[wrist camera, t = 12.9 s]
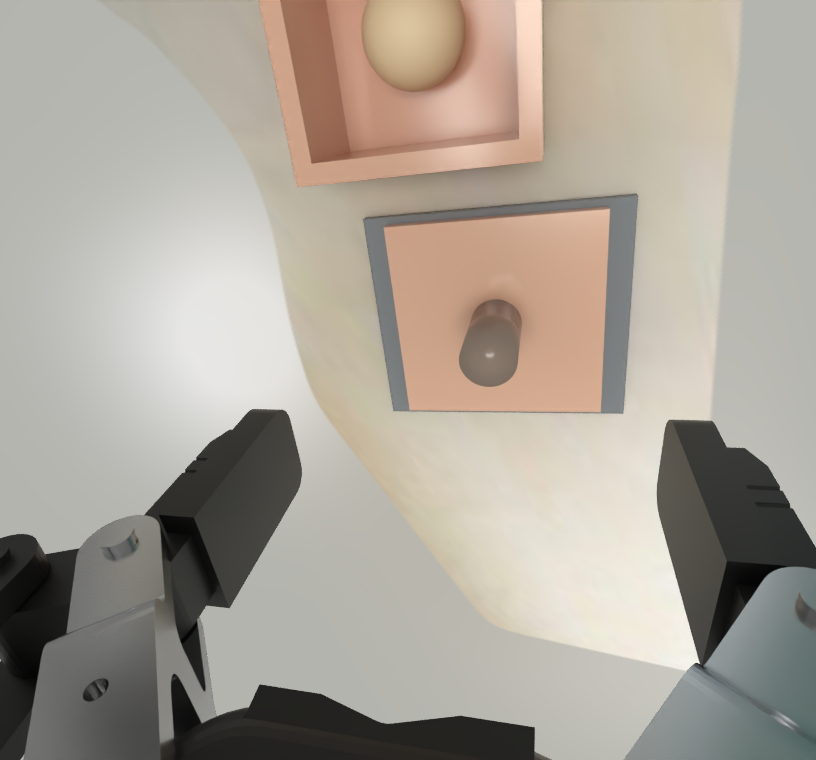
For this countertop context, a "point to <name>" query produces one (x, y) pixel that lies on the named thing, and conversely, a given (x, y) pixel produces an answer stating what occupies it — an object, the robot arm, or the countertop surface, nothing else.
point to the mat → (619, 223)
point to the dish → (405, 94)
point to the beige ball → (413, 40)
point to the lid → (502, 310)
